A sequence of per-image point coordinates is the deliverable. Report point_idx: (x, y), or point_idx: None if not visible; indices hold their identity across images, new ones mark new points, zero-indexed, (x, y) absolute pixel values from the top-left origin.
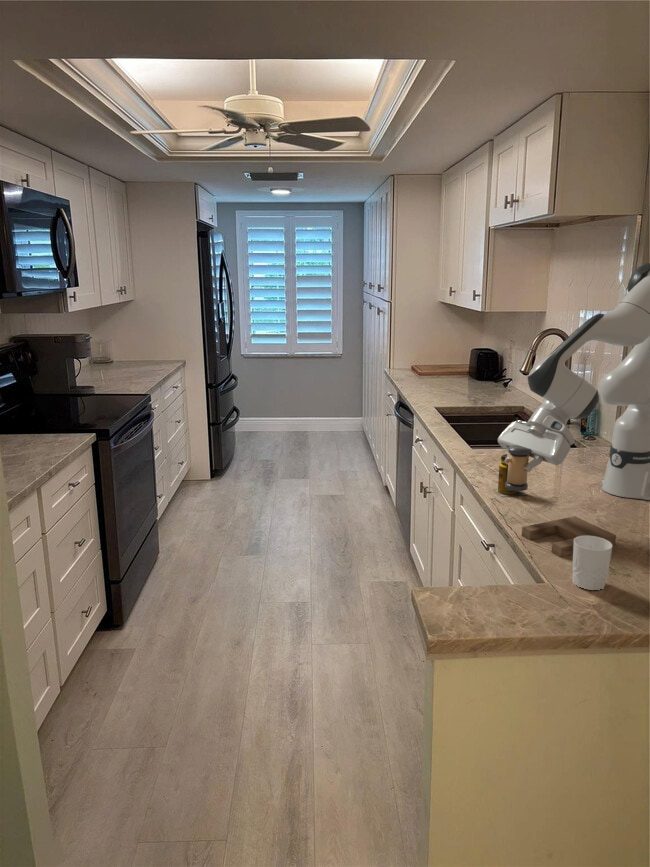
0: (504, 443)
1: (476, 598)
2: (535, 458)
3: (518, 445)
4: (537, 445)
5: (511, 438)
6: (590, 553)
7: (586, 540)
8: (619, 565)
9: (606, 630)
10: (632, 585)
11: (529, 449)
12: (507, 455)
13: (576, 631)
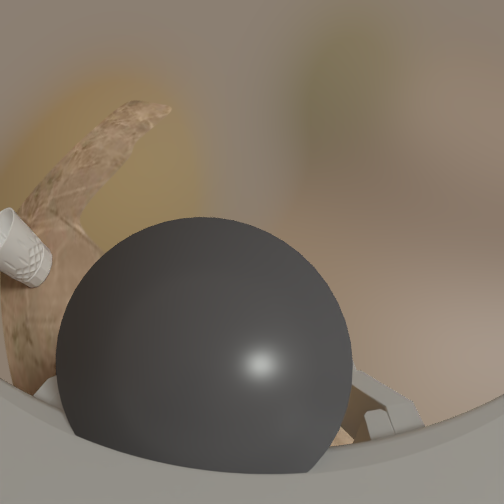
0: (493, 401)
1: (126, 140)
2: (57, 384)
3: (298, 468)
4: (8, 464)
5: (497, 475)
6: (3, 216)
7: (5, 250)
8: (26, 360)
9: (22, 206)
10: (7, 311)
11: (76, 413)
12: (360, 371)
13: (40, 183)
